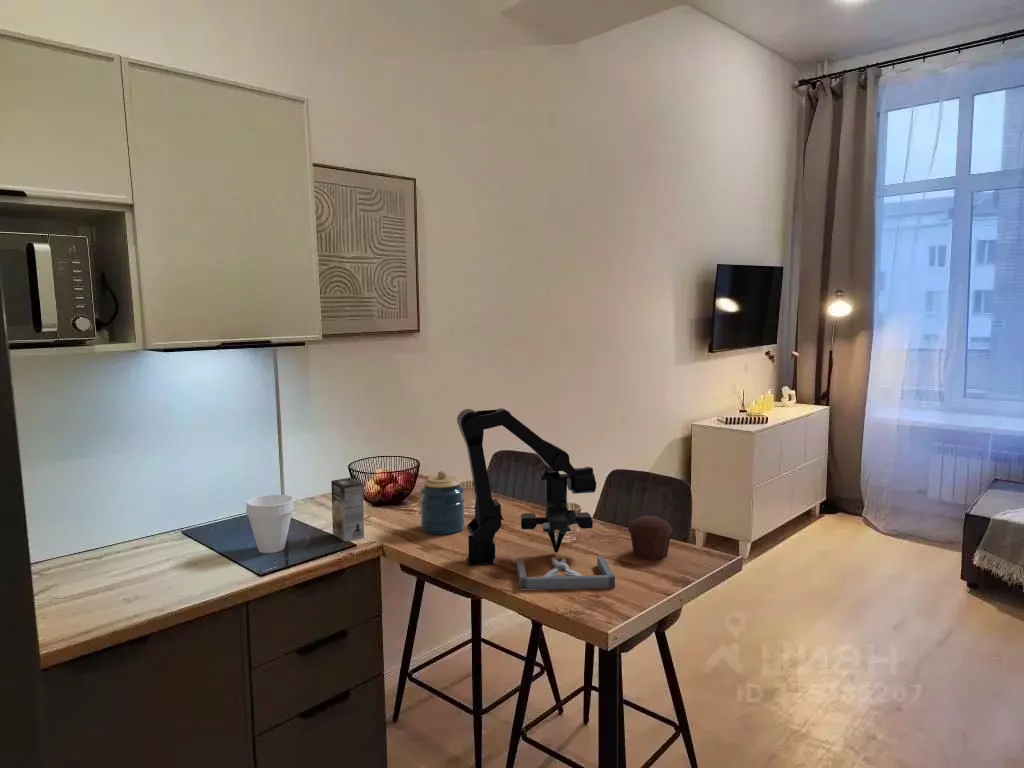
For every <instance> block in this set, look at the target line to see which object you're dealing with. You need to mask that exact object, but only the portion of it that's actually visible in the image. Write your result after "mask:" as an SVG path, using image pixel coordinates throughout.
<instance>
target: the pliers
mask: <svg viewBox="0 0 1024 768" xmlns="http://www.w3.org/2000/svg"><path fill="white" fill-rule="evenodd" d="M551 564H552V566H553V567H554V566H555V567H554V568H553V569H551V570H549V571H547V572H546V573H545V574H544V576H543V577H551V576H557V575H558V576H559V575H561V572H559V570H564V575H565V576H584V575H583V574H582V573H580V572H578V571H576V570H573V569H571V568H570V566H569V565H568V564H567V560H566V557H562V559H561V560H560V561H559V560H557V558H555V557H551Z"/></svg>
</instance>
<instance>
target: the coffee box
mask: <svg viewBox="0 0 1024 768" xmlns="http://www.w3.org/2000/svg"><path fill="white" fill-rule="evenodd" d="M364 507H365V506H364V483H363V482H360V481H358V480H357V479H355V478H353V477H347V478H340V479H339V478H338V479H333V480H331V511H332V512H331V513H332V514H331V515H332V517H331V518H332V520H331V521H332V534H333V535H335V536H336V537H338V538H339V539H340V540H342V541H343V542H345V543H346V542H350V541H355V540H359V539H364V538H365V518H364V517H365V515H364V514H365V513H364V512H365V511H364V509H365V508H364Z"/></svg>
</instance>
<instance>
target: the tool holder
mask: <svg viewBox="0 0 1024 768" xmlns="http://www.w3.org/2000/svg"><path fill="white" fill-rule="evenodd" d="M596 559H597V561H596V564H597V565H596V566H597V569H598V570H599V571H600V574H599V575H597V574H596V575H595V574H593V575H583V576H569V575H562V576H561V575H560V576H559V575H558V576H551V577H544V576H527V573H526V567H525V563H524V558H523V557H516V571H517V576H518V583H519V582H520V583H519V587H520V588H521V589H546V590H577V589H579V590H581V589H582V590H584V589H608V588H609V589H614V588H616V577H615V575H614V573H613V571H612V569H611V567H610V566H609V564H608V562H607V560H606V558H605V556H604V555H597V557H596ZM521 589H520V590H521Z"/></svg>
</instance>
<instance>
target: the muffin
mask: <svg viewBox="0 0 1024 768" xmlns="http://www.w3.org/2000/svg"><path fill="white" fill-rule="evenodd" d="M627 531H628V533H630V538H631V545H632V553H633V552H634V553H633V555H634V556H635V557H637V558H640V559H641V560H649V559H650V561H655V559H656V560H663V559H665V558H666V557H668V554H669V553H668V552H669V548H670V547H669V546H670V543H671V542H670V541H671V536H672V534H673V528H672V526H671V524H670V523H668V522H667V521H666V520H664V518H661V517H659V516H656V515H643V516H642V515H641V516H639V517H637V518H635V519H634V520H632V521H631V523H630V525H629V526H628V528H627Z"/></svg>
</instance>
